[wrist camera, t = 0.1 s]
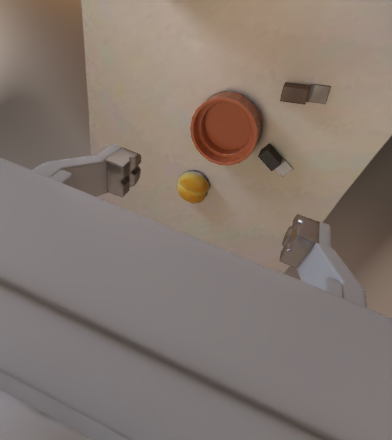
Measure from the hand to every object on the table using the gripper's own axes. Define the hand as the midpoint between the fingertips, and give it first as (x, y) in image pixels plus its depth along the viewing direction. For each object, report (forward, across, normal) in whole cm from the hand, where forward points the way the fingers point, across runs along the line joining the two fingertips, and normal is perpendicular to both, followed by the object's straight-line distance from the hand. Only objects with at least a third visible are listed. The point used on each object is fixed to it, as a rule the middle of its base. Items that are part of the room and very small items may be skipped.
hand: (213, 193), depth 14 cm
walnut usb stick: (+48, -5, +6) cm, 49 cm away
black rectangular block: (+48, -5, +21) cm, 52 cm away
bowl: (+48, +8, +17) cm, 51 cm away
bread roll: (+48, +12, +35) cm, 61 cm away
